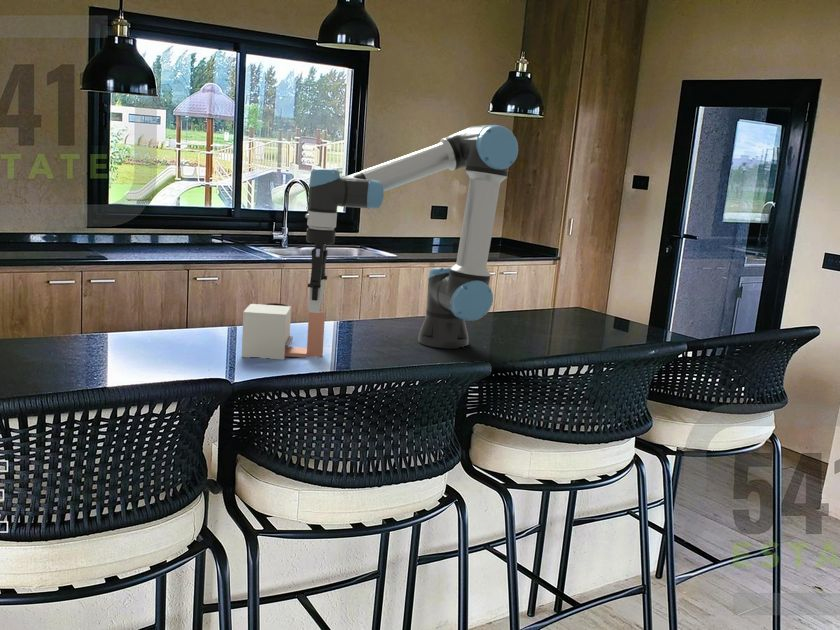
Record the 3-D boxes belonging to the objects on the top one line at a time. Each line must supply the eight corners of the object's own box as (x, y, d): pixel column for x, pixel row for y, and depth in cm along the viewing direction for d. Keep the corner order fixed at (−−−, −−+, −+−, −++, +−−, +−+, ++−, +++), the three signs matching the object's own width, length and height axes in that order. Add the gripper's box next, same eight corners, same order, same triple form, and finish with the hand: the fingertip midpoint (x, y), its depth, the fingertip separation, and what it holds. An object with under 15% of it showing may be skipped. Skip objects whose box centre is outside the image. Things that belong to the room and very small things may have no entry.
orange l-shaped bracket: (323, 352, 230) (325, 309, 228) (321, 358, 224) (323, 314, 221) (254, 348, 229) (256, 304, 227) (250, 354, 223) (252, 309, 220)
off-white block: (292, 349, 233) (294, 306, 230) (287, 359, 221) (289, 314, 219) (248, 346, 232) (250, 303, 230) (241, 357, 220) (243, 311, 218)
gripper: (310, 223, 233) (306, 298, 236) (302, 230, 208) (297, 315, 212) (338, 225, 233) (332, 301, 237) (332, 233, 209) (326, 317, 212)
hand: (315, 307), depth 224 cm, fingers open, 13 cm apart
